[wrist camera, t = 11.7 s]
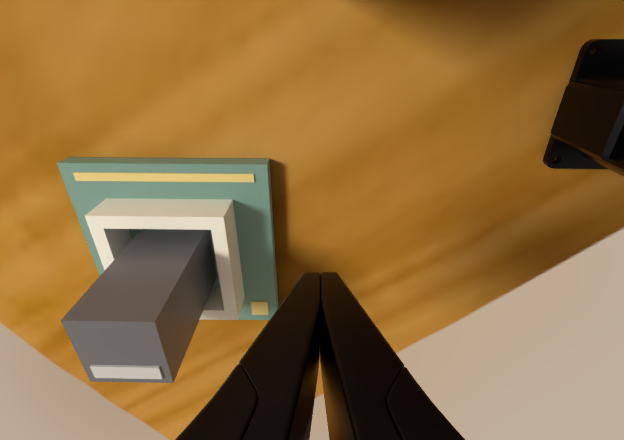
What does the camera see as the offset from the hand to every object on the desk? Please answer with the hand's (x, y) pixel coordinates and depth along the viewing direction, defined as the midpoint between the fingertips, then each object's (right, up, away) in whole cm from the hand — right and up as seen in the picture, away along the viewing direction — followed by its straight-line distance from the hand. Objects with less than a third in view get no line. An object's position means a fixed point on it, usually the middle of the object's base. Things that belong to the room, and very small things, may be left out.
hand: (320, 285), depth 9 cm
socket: (-9, 0, +14) cm, 17 cm away
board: (-9, 0, +14) cm, 17 cm away
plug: (-9, 0, +14) cm, 16 cm away
